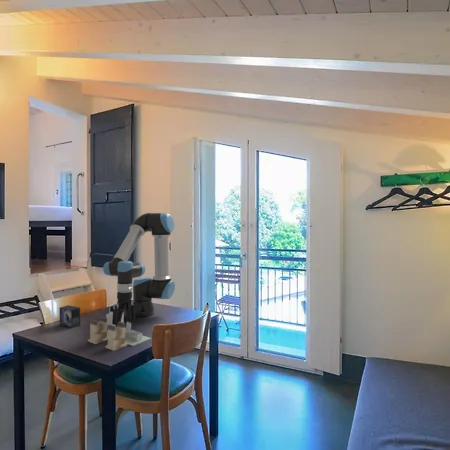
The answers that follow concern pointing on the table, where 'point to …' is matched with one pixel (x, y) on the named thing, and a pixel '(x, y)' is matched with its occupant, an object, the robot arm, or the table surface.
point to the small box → (70, 316)
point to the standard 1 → (98, 330)
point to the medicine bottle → (110, 316)
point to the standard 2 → (116, 336)
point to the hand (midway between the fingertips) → (123, 336)
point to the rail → (132, 334)
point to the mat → (133, 343)
